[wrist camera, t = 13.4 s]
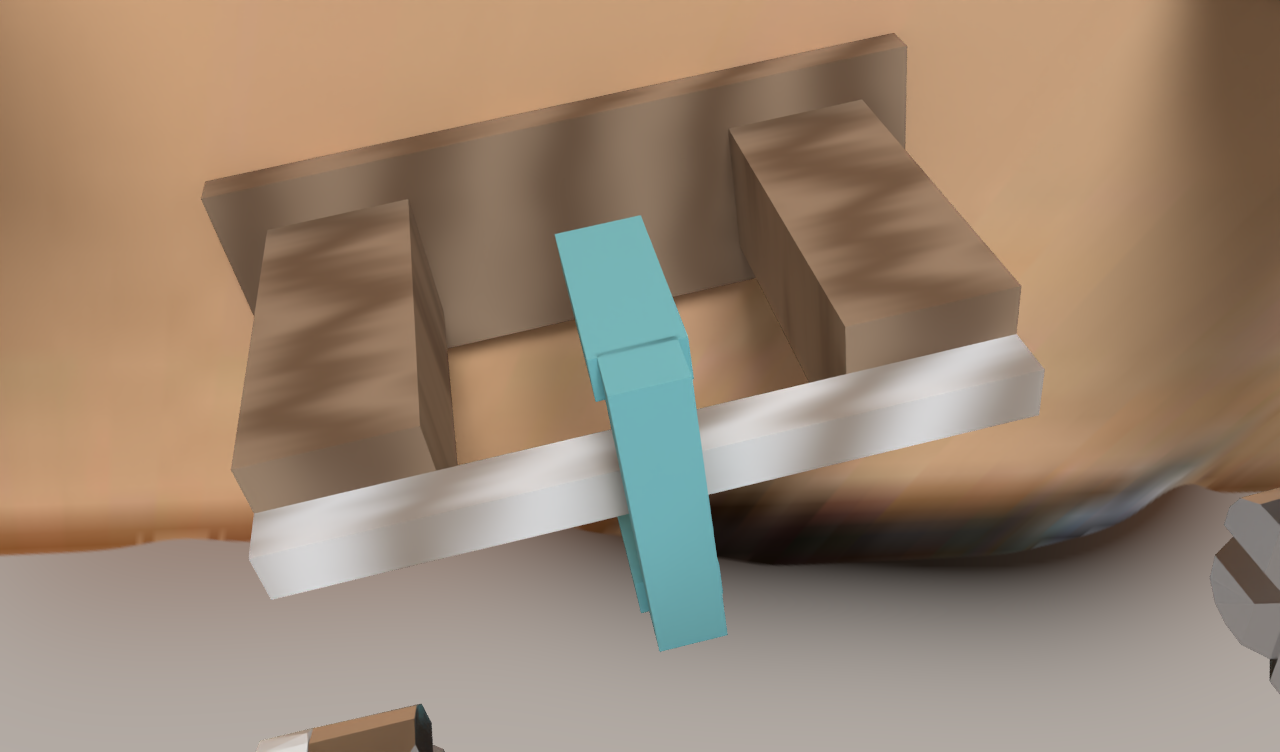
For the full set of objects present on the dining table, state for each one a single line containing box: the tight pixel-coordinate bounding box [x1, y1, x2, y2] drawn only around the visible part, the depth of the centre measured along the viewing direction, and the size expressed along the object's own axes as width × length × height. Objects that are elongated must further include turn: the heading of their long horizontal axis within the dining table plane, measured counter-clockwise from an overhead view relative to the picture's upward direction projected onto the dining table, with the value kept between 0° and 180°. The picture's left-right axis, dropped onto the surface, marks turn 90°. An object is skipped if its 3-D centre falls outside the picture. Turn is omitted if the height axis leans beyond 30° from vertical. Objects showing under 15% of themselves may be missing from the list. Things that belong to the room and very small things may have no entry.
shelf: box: [201, 33, 1045, 600], centre depth 42 cm, size 30×10×18 cm, turn 98°
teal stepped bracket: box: [555, 215, 728, 652], centre depth 37 cm, size 3×12×9 cm, turn 8°
